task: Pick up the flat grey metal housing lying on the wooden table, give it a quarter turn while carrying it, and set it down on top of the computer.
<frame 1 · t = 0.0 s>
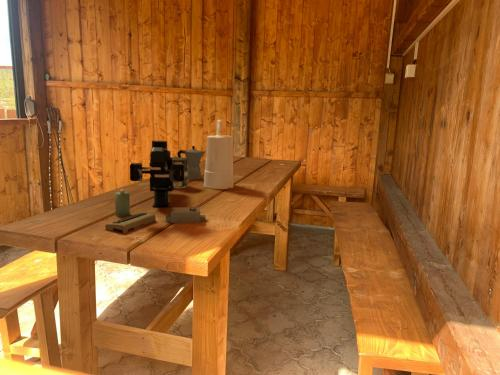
hand: (155, 176, 129), 17 cm above the table, tool horizontal, fingers open, 9 cm apart
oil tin: (122, 214, 142), on the table
computer: (131, 227, 131), on the table
housing: (185, 220, 138), on the table
paper towel roll holder: (218, 186, 199), on the table
coffeepot: (191, 178, 217), on the table
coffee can: (177, 186, 194), on the table
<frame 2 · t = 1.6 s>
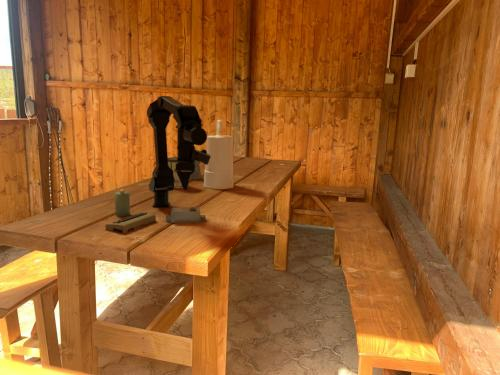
hand: (185, 187, 136), 12 cm above the table, tool pointing down, fingers open, 9 cm apart
nothing on the table moved.
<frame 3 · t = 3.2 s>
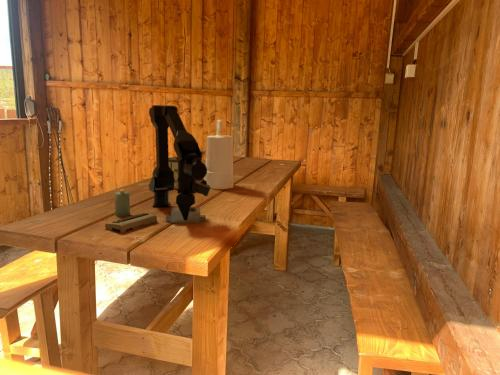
hand: (185, 217, 138), 1 cm above the table, tool pointing down, fingers closed on housing, 6 cm apart
housing: (185, 220, 138), on the table, touching gripper
everything else where it was.
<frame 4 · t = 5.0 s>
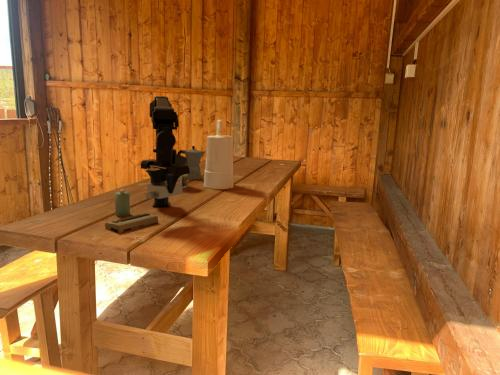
hand: (164, 191, 132), 11 cm above the table, tool pointing down, fingers closed on housing, 6 cm apart
housing: (164, 194, 132), point 10 cm above the table, touching gripper
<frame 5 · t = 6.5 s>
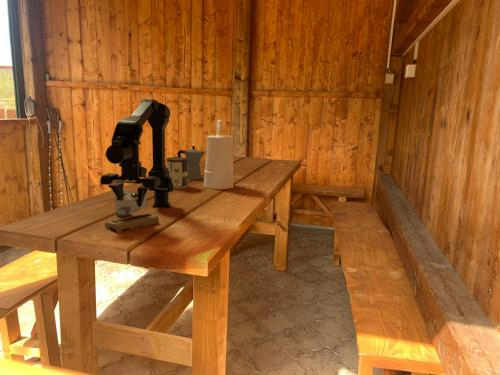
hand: (131, 205, 129), 7 cm above the table, tool pointing down, fingers closed on housing, 6 cm apart
housing: (131, 208, 130), point 6 cm above the table, touching gripper
when the fingers open (6 cm above the table, at t = 7.1 s): housing drops 2 cm, point 3 cm above the table.
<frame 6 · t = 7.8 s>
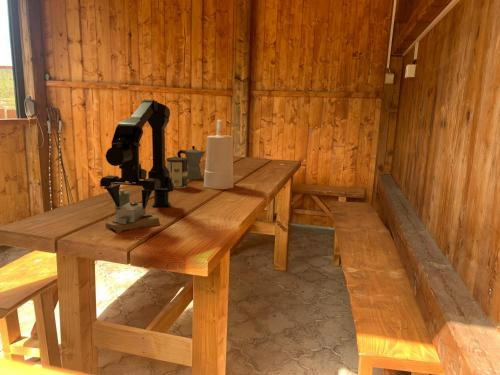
hand: (131, 207, 129), 6 cm above the table, tool pointing down, fingers open, 9 cm apart
housing: (131, 217, 130), point 3 cm above the table
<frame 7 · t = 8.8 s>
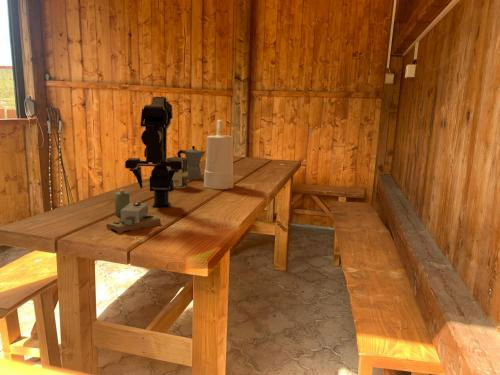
hand: (155, 188, 134), 12 cm above the table, tool pointing down, fingers open, 9 cm apart
computer: (134, 228, 130), on the table, touching housing
housing: (135, 218, 130), point 2 cm above the table, touching computer
everything else where it was.
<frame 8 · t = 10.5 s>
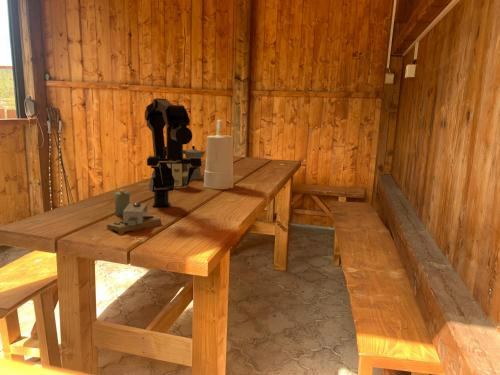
hand: (174, 185, 139), 12 cm above the table, tool pointing down, fingers open, 9 cm apart
at the end: housing inside the target area on the computer (0.6 cm from its centre), point 3.5 cm above the computer's base; housing tilted 1°; computer moved 2.3 cm from its start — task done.
